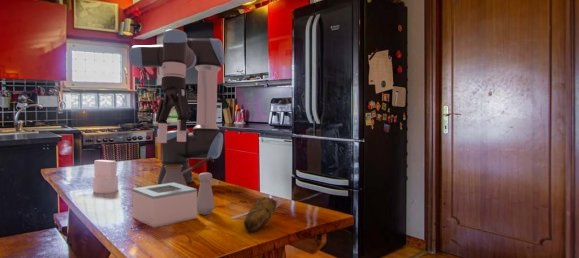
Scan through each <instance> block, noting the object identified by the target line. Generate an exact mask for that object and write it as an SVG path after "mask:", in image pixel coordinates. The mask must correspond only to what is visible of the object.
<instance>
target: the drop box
mask: <svg viewBox="0 0 579 258" xmlns="http://www.w3.org/2000/svg"><path fill="white" fill-rule="evenodd" d="M131 197H132V202H131V203H132V218H133V219H135V220H137V221H139V222H141V223H143V224H145V225H147V226H150V228H151V227H152V228H153V229H155V228H158V227H164V226H169V225H172V224H177V223H182V222H185V221H190V220H194V219H198V210H197V199H198V189H197V188H194V187H191V186H188V185H187V186H185V185H181V184H178V183H174V182H173V183H167V184H154V185H148V186H147V185H146V186H141V187H133V188H131Z"/></svg>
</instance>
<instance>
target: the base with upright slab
mask: <svg viewBox="0 0 579 258" xmlns="http://www.w3.org/2000/svg"><path fill="white" fill-rule="evenodd" d="M93 162H94V165H93V167H94V175H92V187H93V188H92V189H93V193H95V194H108V193H109V194H110V193H114V192H117V191H118V190H119V174H117V161H116V160H110V159H108V160H107V159H96V160H94V161H93Z"/></svg>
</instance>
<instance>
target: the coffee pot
mask: <svg viewBox="0 0 579 258" xmlns="http://www.w3.org/2000/svg"><path fill="white" fill-rule="evenodd" d="M208 161H211V162H213V163H214V162H215V160H214V159H213V158H212V157H210V158H208V159H203V160H201V161H199V162H197V163H196V164H194V165H191V167H190V168H189V169H187V170H185V171H183V172H181V168H182V167H183V166H182V165H166V166H164V168H165V169H166V174H165V176H164V178H163V181H162V183H161V184H167V183H173V182H174V183H178V184H181V185H185V186H188V183H187V184H186V182H185V179H184V177H183V174H184V173H186V172H188V171H190V170H191V171H192V170H193V169H196V168H198V167H200V166H202V165H204V164H205V163H206V162H208Z"/></svg>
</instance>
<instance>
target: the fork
mask: <svg viewBox="0 0 579 258" xmlns="http://www.w3.org/2000/svg"><path fill="white" fill-rule="evenodd" d="M282 204H284V202H282V201H277V202H276V209H277V208H278V207H280V206H281V205H282ZM248 213H249V211H248V212H244V213H241V214H237V215H234V216H231V217H230V219H237V218H240V217H243V216H244V217H245V216H247V214H248Z"/></svg>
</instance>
